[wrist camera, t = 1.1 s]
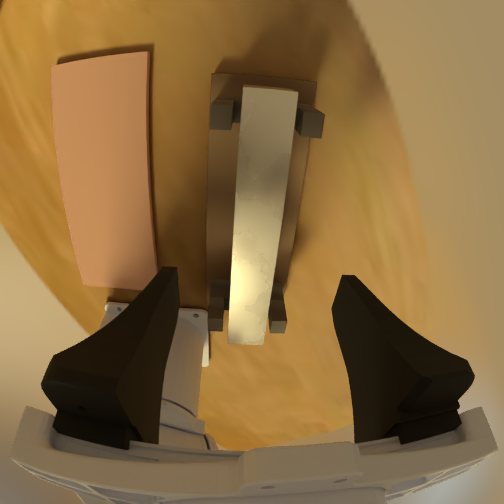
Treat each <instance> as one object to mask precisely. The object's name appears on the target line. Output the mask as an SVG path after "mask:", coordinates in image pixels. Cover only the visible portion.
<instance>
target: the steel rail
mask: <svg viewBox="0 0 504 504" xmlns="http://www.w3.org/2000/svg"><path fill="white" fill-rule="evenodd" d="M297 100H298V92H297V91H294V90H292V89H288V88H279V87H269V86H257V85H243V94H242V107H241V120H240V134H239V148H238V163H237V178H236V194H235V210H234V227H233V245H232V264H231V284H230V305H229V330H228V344H253V345H263V341H264V335H265V329H266V323H267V317H268V311H269V304H270V298H271V291H272V285H273V278H274V272H275V265H276V258H277V252H278V245H279V238H280V231H281V224H282V217H283V210H284V203H285V195H286V188H287V180H288V173H289V165H290V157H291V150H292V142H293V134H294V125H295V117H296V109H297Z"/></svg>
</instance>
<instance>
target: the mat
mask: <svg viewBox="0 0 504 504" xmlns="http://www.w3.org/2000/svg"><path fill="white" fill-rule="evenodd" d="M149 73H150V52H148V51H147V52H135V53H126V54H117V55H109V56H102V57H96V58H90V59H84V60H78V61H73V62H68V63H63V64H59V65H54V66H51V87H52V111H53V126H54V137H55V147H56V155H57V163H58V170H59V177H60V184H61V190H62V196H63V201H64V206H65V212H66V217H67V221H68V226H69V231H70V235H71V239H72V244H73V248H74V252H75V256H76V259H77V263H78V267H79V271H80V274H81V278H82V281H83V285H88V286H98V287H109V288H120V289H132V290H143V289H144V288H145V287H146V286H147V285H148V284H149V282H150V281H151V280H152V279H153V278H154V276H155V275H156V274H157V273H158V264H157V255H156V245H155V234H154V223H153V210H152V195H151V177H150V153H149Z"/></svg>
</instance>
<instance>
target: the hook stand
mask: <svg viewBox="0 0 504 504" xmlns="http://www.w3.org/2000/svg"><path fill="white" fill-rule="evenodd" d="M243 85H257V86H269V87H279V88H288V89H292V90H294V91H297V92H298V100H297V109H296V117H295V125H294V134H293V142H292V150H291V157H290V165H289V173H288V180H287V188H286V195H285V203H284V210H283V217H282V224H281V231H280V238H279V245H278V252H277V258H276V265H275V272H274V278H273V285H272V291H271V298H270V304H269V311H268V317H269V328H270V333H285V329H286V325H287V317H286V310H285V304H284V292H285V287H286V281H287V276H288V271H289V265H290V259H291V254H292V248H293V242H294V237H295V231H296V225H297V219H298V213H299V207H300V200H301V194H302V188H303V181H304V175H305V168H306V161H307V155H308V148H309V141H310V137H312V138H320V139H321V138H322V131H323V124H324V117H325V114H323V113H322V112H320V111H318V110H317V109H315V108H314V103H315V96H316V88H317V83H316V82H311V81H304V80H297V79H288V78H280V77H270V76H258V75H245V74H225V73H212V79H211V96H210V115H209V138H208V167H207V217H206V284H207V304H209V308H208V317H207V323H208V331H223V314H224V310H229V305H230V284H231V264H232V245H233V227H234V210H235V194H236V178H237V163H238V148H239V134H240V120H241V107H242V94H243Z"/></svg>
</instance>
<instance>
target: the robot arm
mask: <svg viewBox="0 0 504 504" xmlns="http://www.w3.org/2000/svg"><path fill="white" fill-rule="evenodd" d="M179 305H180V299H179V288H178V275H177V267H165V266H163V267H162V268H161V269H160V270H159V271H158V273H157V274H156V275H155V276H154V278H153V279H152V280H151V281H150V282H149V284H148V285H147V286H146V287H145V288H144V289H143V290H142V292H141V293H140V294H139V295H138V296H137V297H136V298H135V299H134V300H133V301H132V302H131V303H130V304H127V303H117V302H106V304H105V310H106V314H105V316H104V319H103V321H102V324H101V326H100V328H99V330H98V331H97V332H96V333H94V334H93V335H91V336H90V337H88V338H86V339H85V340H83V341H81V342H80V343H78V344H76V345H74V346H72V347H70V348H68V349H66V350H64V351H62V352H60V353H58V354H55V355H54V356H53V358H52V359H51V361H50V363H49V365H48V368H47V370H46V373H45V375H44V377H43V380H42V382H41V387H42V390H43V391H44V393H45V395H46V396H47V397H48V399H49V400H50V401H51V402H52V404H53V405H54V406H55V408H56V409H57V413H56V416H55V417H54V416H53V415H51V414H49V413H47V412H44V411H41V410H38V409H35V408H32V407H29V406H26V407H25V410H24V412H23V415H22V418H21V420H20V423H19V426H18V429H17V432H16V435H15V438H14V441H13V444H12V448H11V451H10V454H9V457H10V459H11V460H13V461H14V462H15V463H17V464H19V465H20V466H21V467H23V468H24V469H26V470H27V471H28V472H30V473H31V474H33V475H35V476H36V477H38V478H39V479H42V480H44V481H47V482H49V483H52V484H54V485H57V486H60V487H63V488H65V489H68V490H71V491H74V492H75V493H76V495H77V496H78V497H79V498H80V500H81V501H82V502H83V503H84V504H387V503H386V502H387V501H390V500H393V499H397V498H400V497H403V496H406V495H409V494H412V493H414V492H417V491H420V490H423V489H425V488H428V487H431V486H433V485H435V484H438V483H440V482H443V481H445V480H448V479H450V478H453V477H455V476H457V475H460V474H462V473H464V472H466V471H468V470H470V469H471V468H473V467H474V466H476V465H477V464H479V463H480V462H482V461H483V460H485V459H486V458H488V457H489V456H490V455H492V454H493V453H495V452H496V451H497V450H498V447H497V444H496V441H495V439H494V436H493V434H492V431H491V428H490V426H489V423H488V421H487V418H486V416H485V414H484V411H483V409H482V407H477V408H474V409H471V410H468V411H465V412H463V413H461V414H460V415H459V414H458V411H457V409H459V407H460V405H459V402H458V400H459V398H460V397H461V396H462V395H463V394H464V393H465V392H466V391H467V390H468V389H469V387H470V386H471V385H472V383H473V381H474V378H475V375H474V373H473V371H472V369H471V367H470V365H469V363H468V361H467V360H466V359H464V358H461V357H459V356H457V355H454V354H452V353H450V352H448V351H446V350H444V349H442V348H440V347H439V346H437V345H435V344H433V343H432V342H430V341H429V340H427V339H426V338H424V337H422V336H421V335H419V334H418V333H417V332H415V331H414V330H413V329H411V328H410V327H409V326H407V325H406V324H405V323H404V322H402V321H401V320H400V319H399V318H398V317H397V316H396V315H394V314H393V313H392V312H391V311H390V310H389V309H388V308H387V307H386V306H385V305H384V304H383V303H382V302H381V301H380V300H379V299H378V298H377V297H376V296H375V295H374V294H373V293H372V292H371V291H370V290H369V289H368V288H367V287H366V286H365V285H364V284H363V283H362V282H361V281H360V280H359V279H358V278H357V277H356V276H355V275H342V277H341V280H340V283H339V287H338V290H337V293H336V296H335V299H334V302H333V305H332V315H333V322H334V327H335V331H336V335H337V338H338V341H339V345H340V348H341V351H342V355H343V358H344V361H345V365H346V368H347V373H348V377H349V384H350V390H351V398H352V407H353V418H354V435H355V436H354V439H355V444H354V443H351V442H333V443H324V444H314V445H299V446H279V447H278V446H277V447H263V448H256V449H252V450H249V451H227V450H225V451H224V450H219V449H218V447H217V445H216V442H215V440H214V438H213V437H212V436H211V435H209V434H207V433H204V429H205V421H203V420H200V419H197V417H198V404H199V392H200V380H201V369H202V366H203V367H206V366H208V365H209V335H208V323H207V317H208V312H207V311H206V310H203V309H190V308H179ZM195 314H198V315H195Z"/></svg>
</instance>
